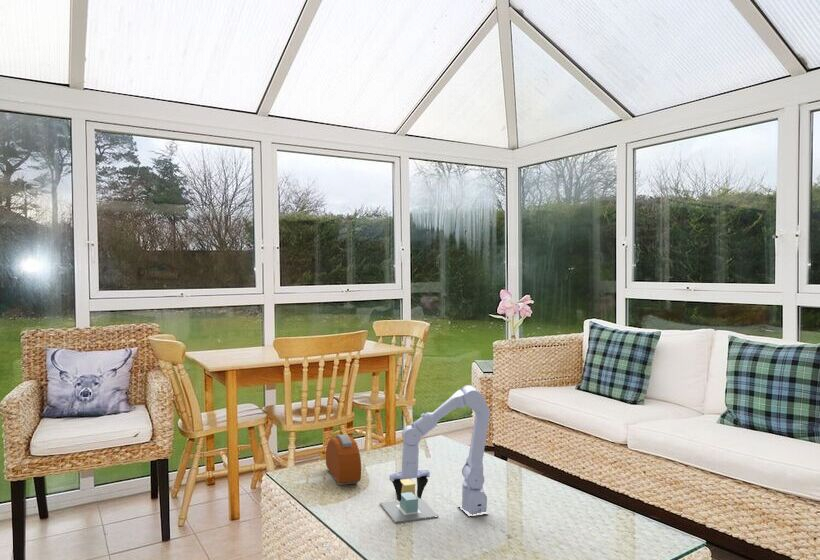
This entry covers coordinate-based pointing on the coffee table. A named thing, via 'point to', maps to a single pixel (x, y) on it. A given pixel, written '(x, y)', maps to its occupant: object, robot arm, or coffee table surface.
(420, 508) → the baseplate
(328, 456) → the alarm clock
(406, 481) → the ochre brick
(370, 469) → the coffee table surface
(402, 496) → the teal brick
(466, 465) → the robot arm
